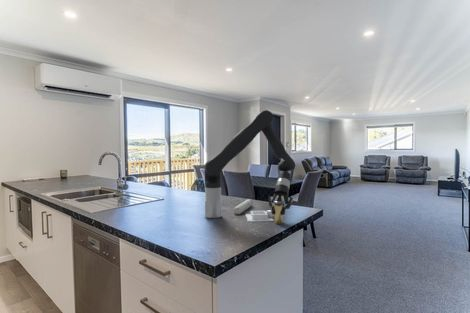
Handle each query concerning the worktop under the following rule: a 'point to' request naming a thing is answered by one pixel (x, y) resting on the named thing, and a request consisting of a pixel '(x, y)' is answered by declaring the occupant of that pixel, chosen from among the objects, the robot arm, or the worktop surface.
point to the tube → (243, 206)
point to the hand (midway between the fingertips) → (277, 214)
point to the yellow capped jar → (278, 211)
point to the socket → (260, 216)
